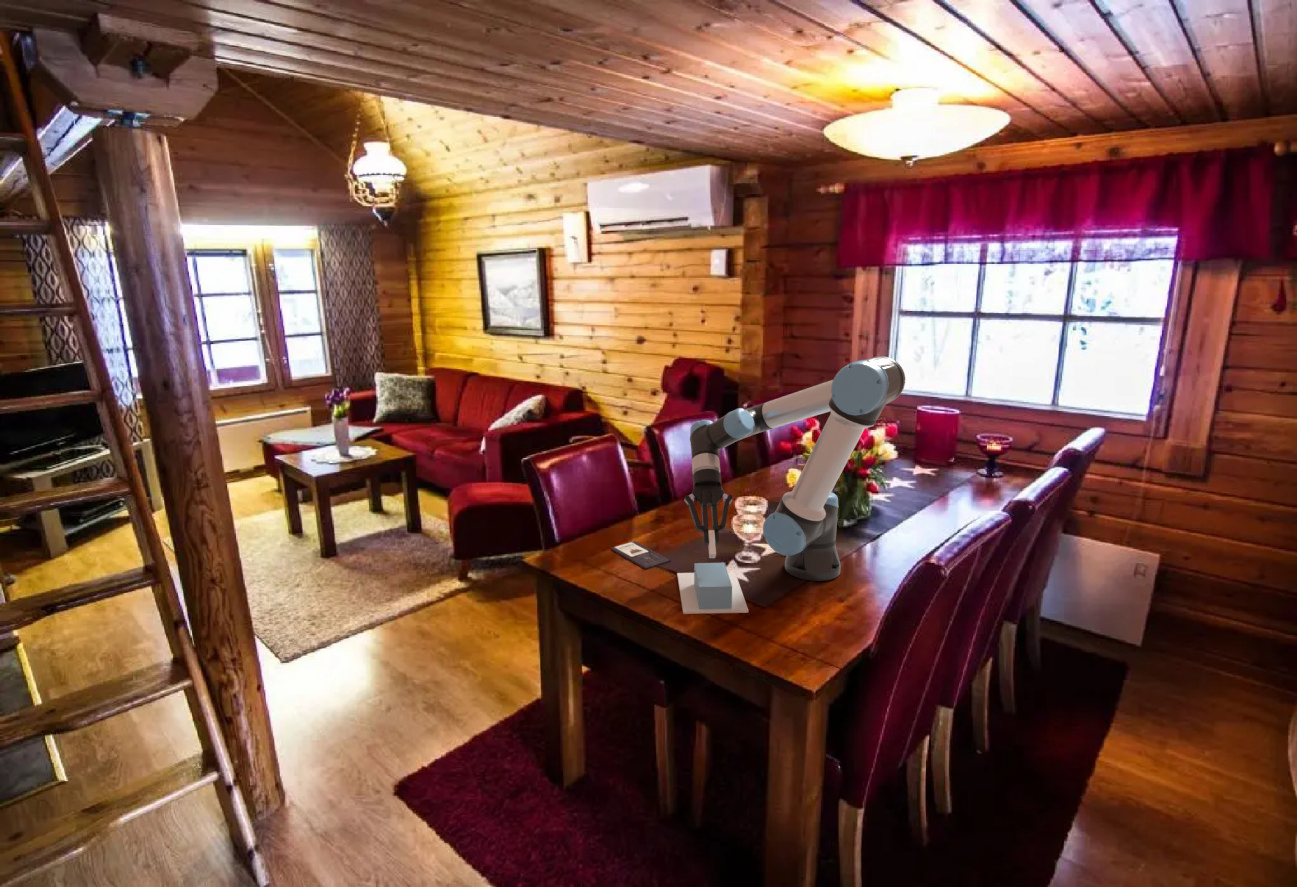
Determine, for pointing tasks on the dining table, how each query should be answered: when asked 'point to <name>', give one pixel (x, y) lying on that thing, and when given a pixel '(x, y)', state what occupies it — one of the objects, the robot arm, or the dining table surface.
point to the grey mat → (690, 596)
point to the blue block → (712, 586)
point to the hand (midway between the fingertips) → (712, 556)
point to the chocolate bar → (640, 555)
